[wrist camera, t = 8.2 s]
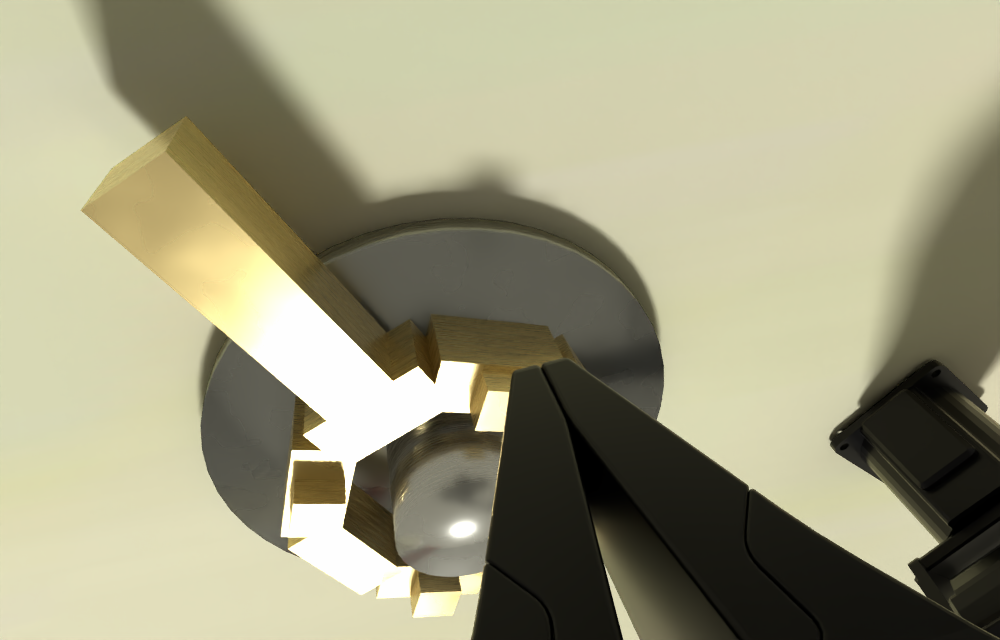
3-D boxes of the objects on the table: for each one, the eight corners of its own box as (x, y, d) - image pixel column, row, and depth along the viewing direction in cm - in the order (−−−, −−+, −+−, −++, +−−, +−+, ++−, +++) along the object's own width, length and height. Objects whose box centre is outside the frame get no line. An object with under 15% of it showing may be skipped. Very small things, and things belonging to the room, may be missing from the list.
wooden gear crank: (640, 451, 27) (676, 518, 24) (410, 577, 29) (419, 653, 26) (344, 4, 15) (347, 34, 12) (-28, 266, 16) (-101, 346, 14)
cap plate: (735, 351, 27) (813, 444, 23) (483, 586, 33) (506, 695, 29) (377, 108, 18) (393, 184, 13) (122, 494, 24) (76, 632, 20)
